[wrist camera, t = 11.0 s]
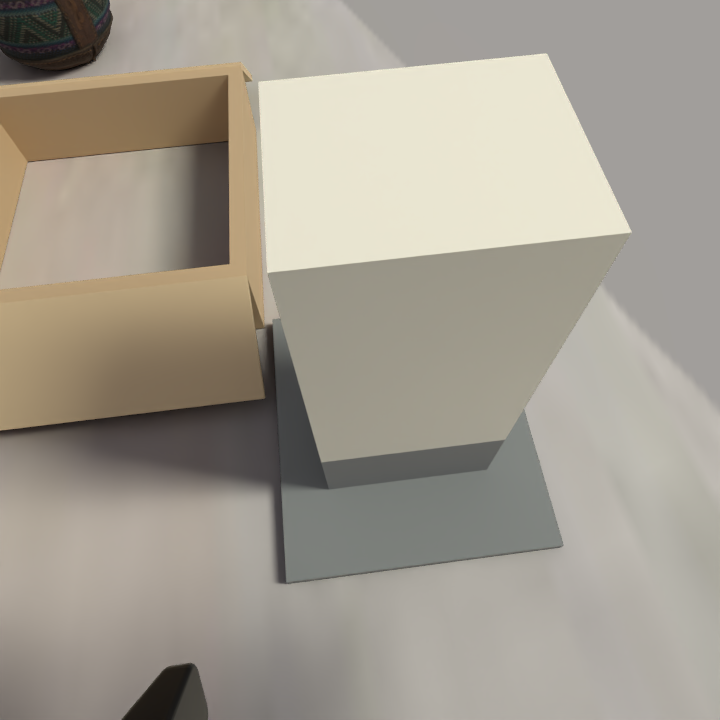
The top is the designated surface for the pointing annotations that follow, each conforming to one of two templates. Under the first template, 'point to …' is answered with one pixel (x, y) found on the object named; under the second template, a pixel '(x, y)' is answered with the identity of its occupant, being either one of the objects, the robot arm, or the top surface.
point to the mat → (402, 503)
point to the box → (428, 254)
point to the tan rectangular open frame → (142, 291)
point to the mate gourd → (54, 31)
